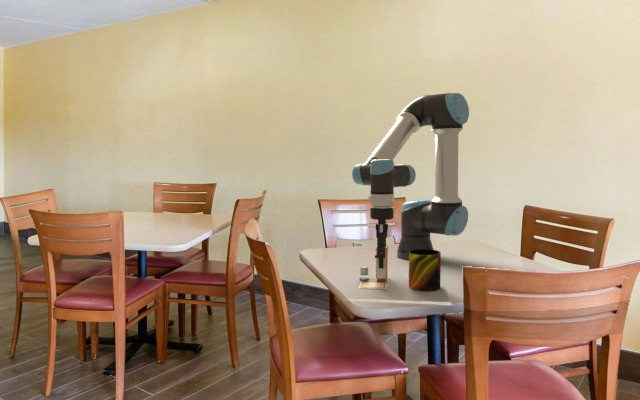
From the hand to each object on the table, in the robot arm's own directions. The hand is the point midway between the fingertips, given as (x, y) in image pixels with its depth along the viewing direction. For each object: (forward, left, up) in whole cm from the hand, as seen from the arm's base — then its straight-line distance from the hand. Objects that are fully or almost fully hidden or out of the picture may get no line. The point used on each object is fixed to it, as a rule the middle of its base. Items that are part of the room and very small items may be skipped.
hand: (381, 273), depth 161 cm
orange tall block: (0, 0, -2) cm, 2 cm away
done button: (+6, -1, -1) cm, 6 cm away
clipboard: (+2, +4, -3) cm, 5 cm away
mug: (-12, +5, -3) cm, 13 cm away
